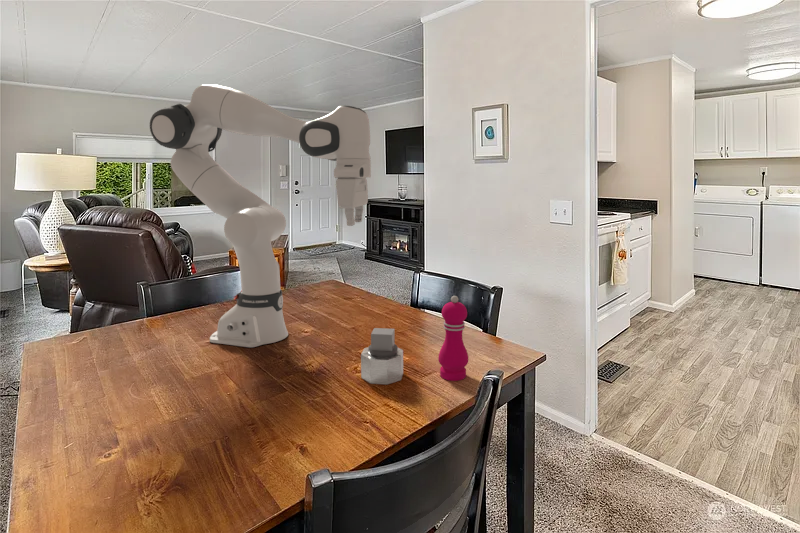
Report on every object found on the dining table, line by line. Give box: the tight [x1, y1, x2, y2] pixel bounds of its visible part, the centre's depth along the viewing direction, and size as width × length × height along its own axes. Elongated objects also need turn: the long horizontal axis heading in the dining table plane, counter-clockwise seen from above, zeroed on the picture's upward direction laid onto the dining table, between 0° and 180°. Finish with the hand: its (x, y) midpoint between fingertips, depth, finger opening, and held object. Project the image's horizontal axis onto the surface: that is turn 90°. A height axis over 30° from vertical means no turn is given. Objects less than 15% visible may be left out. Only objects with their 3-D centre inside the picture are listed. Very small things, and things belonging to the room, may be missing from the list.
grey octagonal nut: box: [360, 346, 404, 385], centre depth 112 cm, size 10×10×6 cm
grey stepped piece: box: [368, 327, 399, 358], centre depth 111 cm, size 7×7×8 cm
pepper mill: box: [437, 295, 469, 382], centre depth 111 cm, size 7×7×20 cm
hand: (354, 223), depth 124 cm, fingers open, 8 cm apart
